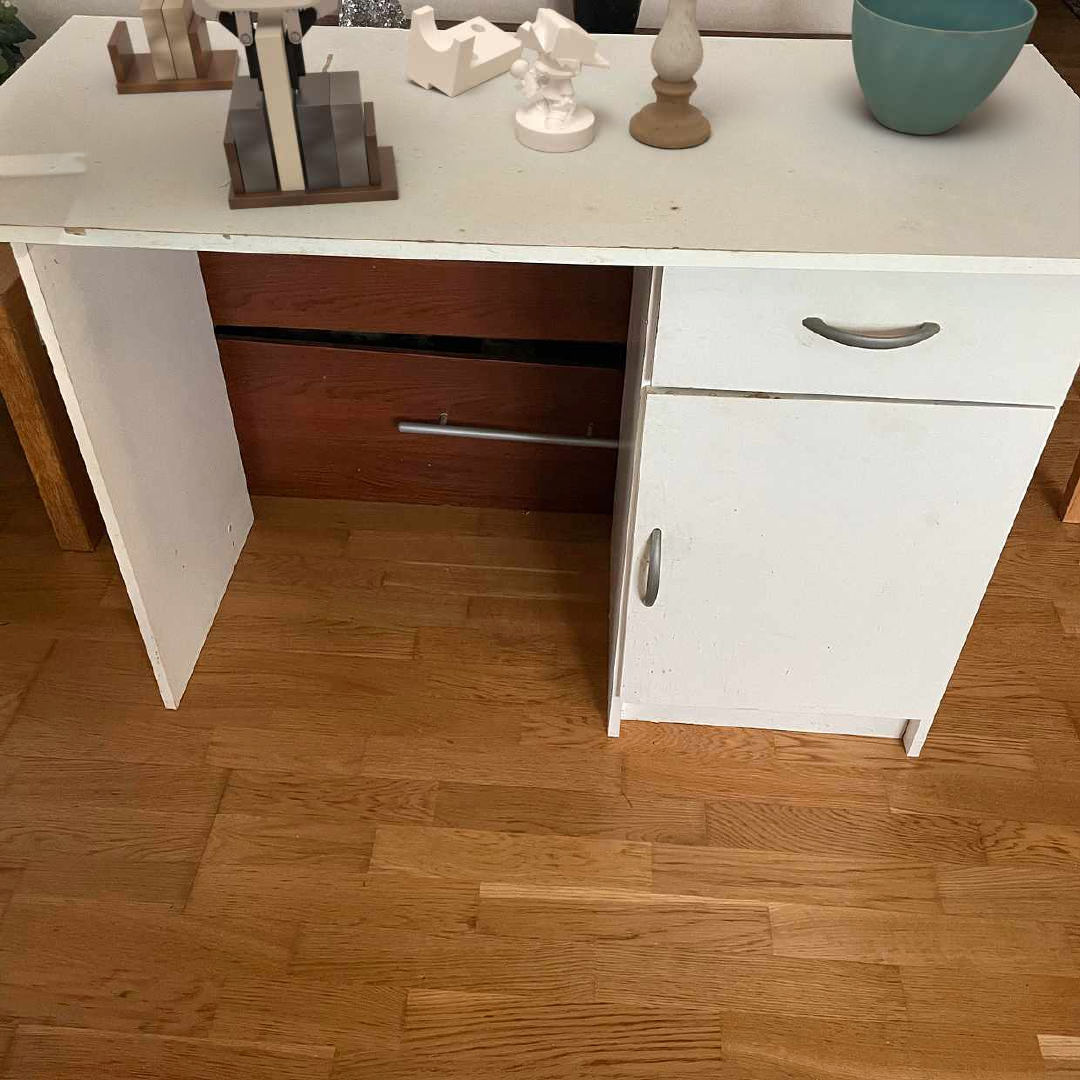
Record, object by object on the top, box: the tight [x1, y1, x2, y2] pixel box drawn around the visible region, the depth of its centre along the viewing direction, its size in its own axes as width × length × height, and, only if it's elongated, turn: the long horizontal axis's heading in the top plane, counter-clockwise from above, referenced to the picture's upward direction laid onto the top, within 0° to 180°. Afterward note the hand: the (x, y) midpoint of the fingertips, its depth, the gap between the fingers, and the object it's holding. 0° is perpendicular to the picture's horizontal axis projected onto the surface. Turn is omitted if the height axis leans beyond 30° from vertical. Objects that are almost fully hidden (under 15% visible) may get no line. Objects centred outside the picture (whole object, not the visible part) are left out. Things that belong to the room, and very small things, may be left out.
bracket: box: [404, 4, 524, 98], centre depth 119 cm, size 13×7×8 cm, turn 144°
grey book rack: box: [222, 70, 399, 210], centre depth 98 cm, size 16×10×9 cm, turn 99°
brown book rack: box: [106, 0, 240, 95], centre depth 117 cm, size 13×10×9 cm
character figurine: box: [510, 7, 611, 153], centre depth 105 cm, size 9×10×12 cm
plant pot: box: [851, 0, 1038, 136], centre depth 109 cm, size 18×18×12 cm
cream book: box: [255, 10, 306, 191], centre depth 95 cm, size 2×8×14 cm, turn 9°
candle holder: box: [628, 0, 712, 149], centre depth 103 cm, size 9×9×20 cm
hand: (279, 83), depth 94 cm, fingers closed on cream book, 2 cm apart
